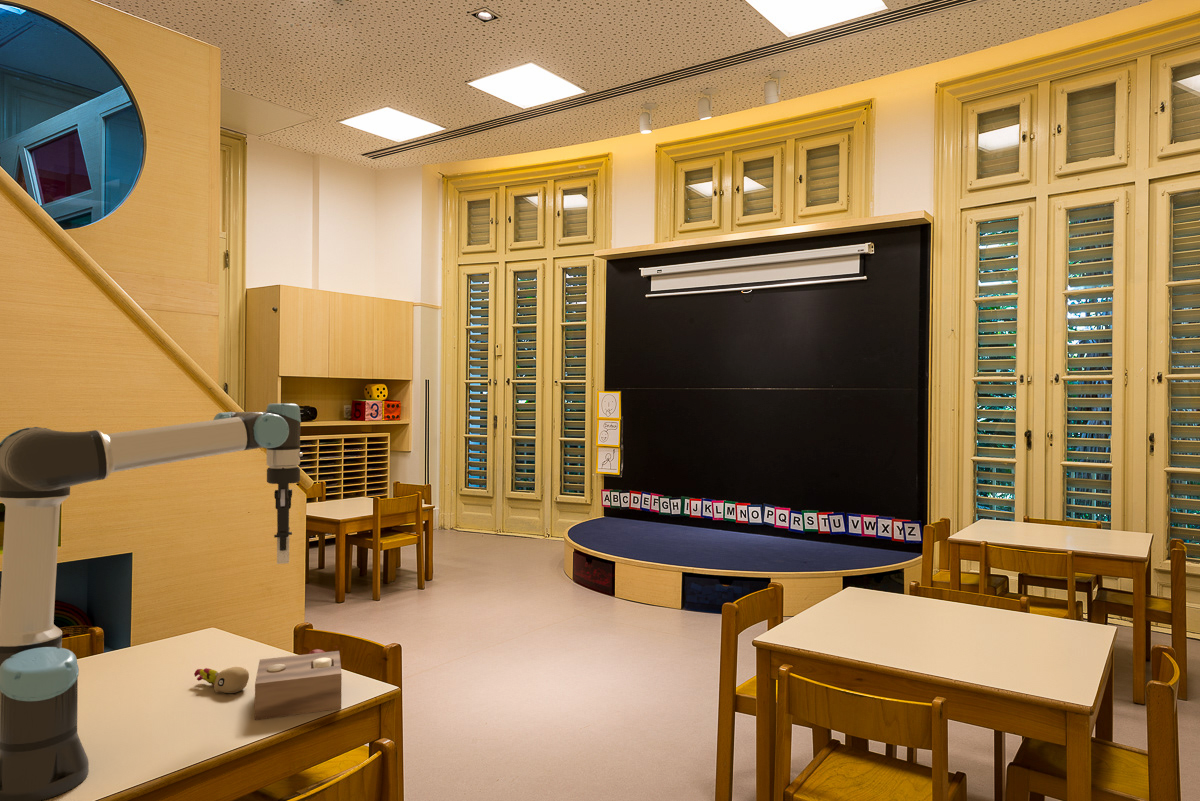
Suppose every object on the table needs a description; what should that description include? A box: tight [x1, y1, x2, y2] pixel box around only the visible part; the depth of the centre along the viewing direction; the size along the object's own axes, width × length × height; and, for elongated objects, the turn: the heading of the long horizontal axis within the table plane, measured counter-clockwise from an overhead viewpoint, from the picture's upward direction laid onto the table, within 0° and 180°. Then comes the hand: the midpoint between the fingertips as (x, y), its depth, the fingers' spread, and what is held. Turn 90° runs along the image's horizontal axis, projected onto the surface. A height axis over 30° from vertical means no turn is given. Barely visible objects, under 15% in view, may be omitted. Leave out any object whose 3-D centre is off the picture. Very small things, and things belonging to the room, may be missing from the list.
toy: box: [194, 666, 250, 694], centre depth 182 cm, size 6×7×15 cm
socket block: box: [254, 650, 343, 721], centre depth 175 cm, size 16×18×8 cm
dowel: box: [313, 658, 331, 668], centre depth 177 cm, size 4×4×8 cm
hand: (283, 562), depth 183 cm, fingers closed
